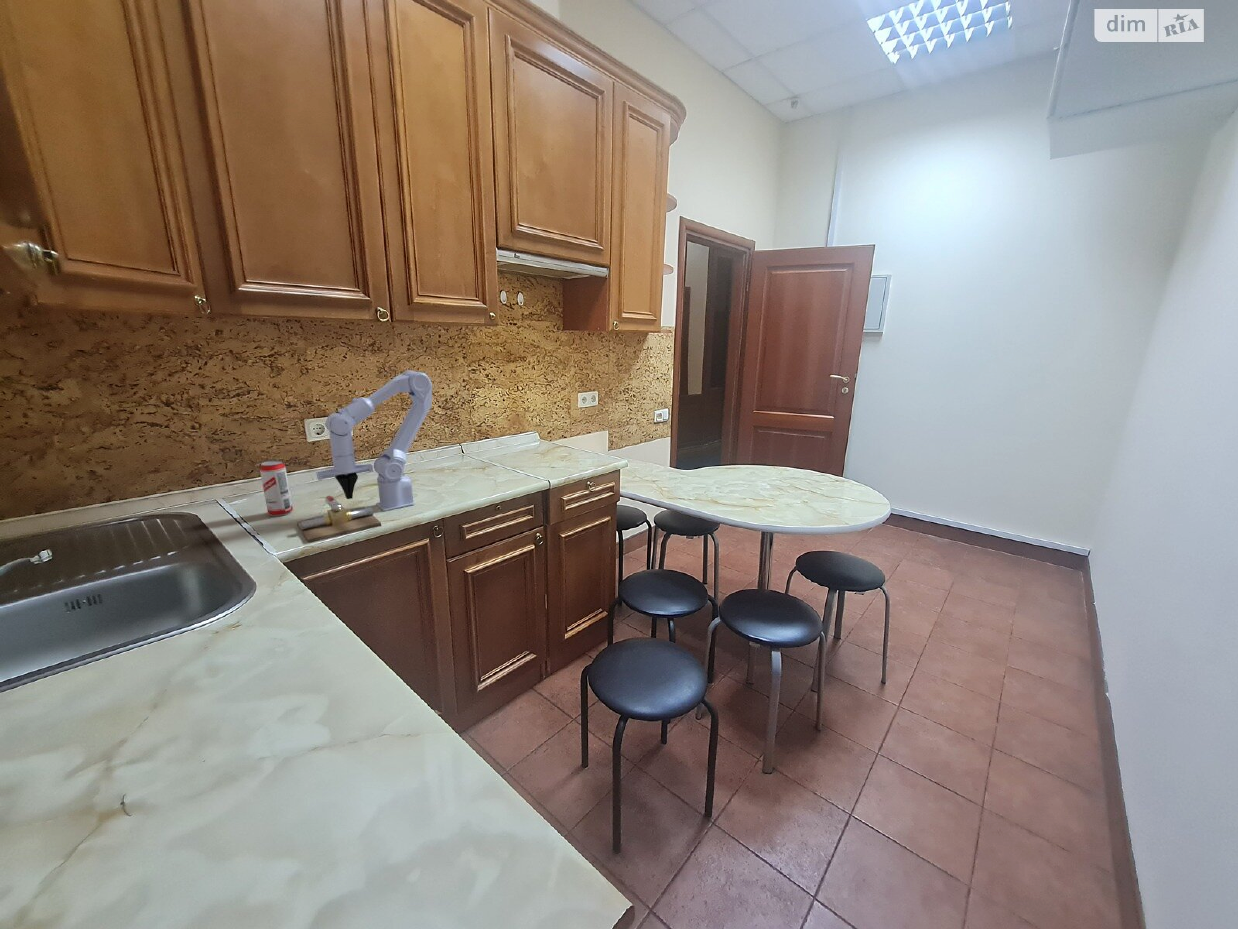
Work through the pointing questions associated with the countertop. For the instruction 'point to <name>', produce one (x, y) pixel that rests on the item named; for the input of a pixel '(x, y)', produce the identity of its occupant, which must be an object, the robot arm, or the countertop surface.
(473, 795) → the countertop surface
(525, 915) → the countertop surface
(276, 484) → the beer can
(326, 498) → the valve lever
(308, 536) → the walnut board
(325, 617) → the countertop surface
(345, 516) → the valve body
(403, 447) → the robot arm
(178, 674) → the countertop surface
